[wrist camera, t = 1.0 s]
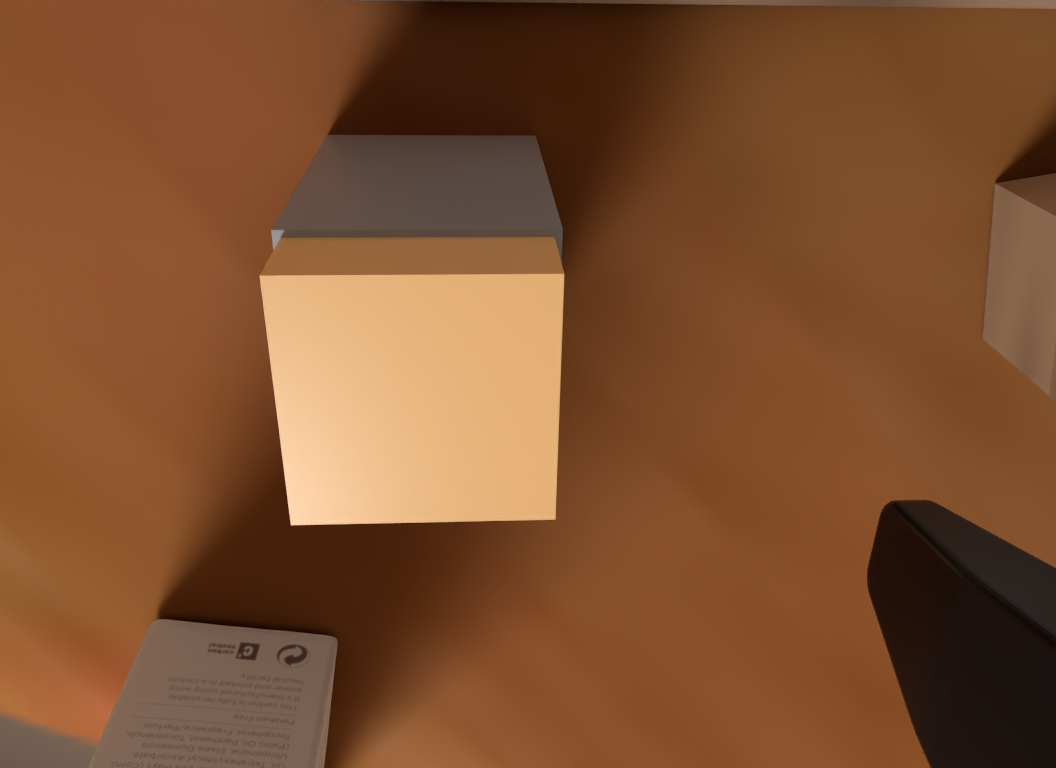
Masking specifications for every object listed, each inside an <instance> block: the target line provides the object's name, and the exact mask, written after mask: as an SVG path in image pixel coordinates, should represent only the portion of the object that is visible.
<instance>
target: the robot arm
mask: <svg viewBox="0 0 1056 768" xmlns="http://www.w3.org/2000/svg"><path fill="white" fill-rule="evenodd" d="M867 585H868V590H869V594H870V598H871V601H872V604H873V607H874V610H875V613H876V616H877V619H878V622H879V625H880V628H881V631H882V634H883V637H884V640H885V643H886V646H887V649H888V652H889V656H890V659H891V662H892V665H893V668H894V671H895V674H896V677H897V680H898V683H899V686H900V689H901V692H902V695H903V698H904V701H905V704H906V707H907V710H908V713H909V716H910V719H911V721H912V724H913V727H914V730H915V732H916V735H917V737H918V740H919V742H920V744H921V747H922V749H923V751H924V754H925V756H926V758H927V761H928V763H929V765H930V767H931V768H1056V568H1054V567H1052V566H1051V565H1049V564H1047V563H1045V562H1043V561H1041V560H1040V559H1038V558H1036V557H1034V556H1032V555H1030V554H1029V553H1027V552H1025V551H1023V550H1021V549H1019V548H1018V547H1016V546H1014V545H1012V544H1010V543H1008V542H1006V541H1005V540H1003V539H1001V538H999V537H997V536H995V535H994V534H992V533H990V532H988V531H986V530H984V529H983V528H981V527H979V526H977V525H975V524H973V523H972V522H970V521H968V520H966V519H964V518H962V517H961V516H959V515H957V514H955V513H953V512H951V511H950V510H948V509H946V508H944V507H942V506H940V505H938V504H937V503H935V502H932V501H929V500H901V501H891V502H889V503H888V504H886V505H885V506H884V508H883V509H882V512H881V514H880V518H879V522H878V526H877V530H876V535H875V539H874V543H873V547H872V552H871V556H870V560H869V564H868V570H867Z"/></svg>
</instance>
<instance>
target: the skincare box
mask: <svg viewBox="0 0 1056 768" xmlns="http://www.w3.org/2000/svg"><path fill="white" fill-rule="evenodd" d="M337 646H338V642H337V639H336V638H335V637H332V636H328V635H320V634H311V633H302V632H292V631H281V630H266V629H258V628H249V627H235V626H225V625H216V624H207V623H197V622H188V621H179V620H168V619H158V620H155V621H153V622H152V623H151V625H150V626H149V628H148V631H147V633H146V635H145V637H144V640H143V642H142V644H141V646H140V649H139V651H138V654H137V656H136V659H135V661H134V663H133V665H132V667H131V669H130V671H129V674H128V677H127V679H126V681H125V684H124V686H123V688H122V690H121V693H120V695H119V697H118V699H117V701H116V703H115V706H114V708H113V711H112V713H111V715H110V718H109V720H108V722H107V725H106V727H105V730H104V732H103V734H102V737H101V739H100V741H99V744H98V746H97V748H96V751H95V753H94V755H93V758H92V760H91V762H90V764H89V766H88V768H324V763H325V755H326V746H327V737H328V728H329V718H330V708H331V699H332V689H333V679H334V670H335V661H336V654H337Z"/></svg>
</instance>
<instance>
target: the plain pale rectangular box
mask: <svg viewBox="0 0 1056 768" xmlns="http://www.w3.org/2000/svg"><path fill="white" fill-rule="evenodd" d="M983 340H985V341H986V342H987V343H988V344H989V345H990V346H992V347H993V348H994V349H995V350H996V351H997V352H999V353H1000V354H1001V355H1002V356H1003V357H1004V358H1006V359H1007V360H1008V361H1009V362H1010V363H1011V364H1013V365H1014V366H1015V367H1016V368H1017V369H1018V370H1020V371H1021V372H1022V373H1023V374H1024V375H1025V376H1027V377H1028V378H1029V379H1030V380H1031V381H1032V382H1033V383H1035V384H1036V385H1037V386H1038V387H1039V388H1040V389H1042V390H1043V391H1044V392H1045V393H1046V394H1047V395H1049V396H1050V397H1051V398H1052V399H1053V400H1054V401H1056V173H1052V174H1047V175H1041V176H1035V177H1029V178H1023V179H1017V180H1012V181H1006V182H1000V183H995V190H994V203H993V215H992V228H991V240H990V253H989V265H988V278H987V290H986V303H985V315H984V328H983Z"/></svg>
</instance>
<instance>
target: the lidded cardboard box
mask: <svg viewBox="0 0 1056 768" xmlns="http://www.w3.org/2000/svg"><path fill="white" fill-rule="evenodd" d="M271 232H272V240H273V249H274V250H273V252H272V254H271V256H270V258H269V259H268V261H267V263H266V265H265V267H264V269H263V270H262V272H261V274H260V283H261V291H262V299H263V307H264V314H265V322H266V330H267V338H268V346H269V354H270V362H271V370H272V378H273V386H274V394H275V402H276V410H277V418H278V426H279V434H280V442H281V450H282V458H283V466H284V474H285V482H286V490H287V498H288V506H289V514H290V522H291V525H326V524H372V523H419V522H465V521H512V520H555V516H556V488H557V461H558V433H559V405H560V378H561V350H562V323H563V295H564V271H563V267H562V239H563V228H562V224H561V221H560V218H559V214H558V211H557V207H556V204H555V200H554V197H553V193H552V190H551V187H550V183H549V180H548V176H547V173H546V169H545V166H544V162H543V159H542V156H541V152H540V149H539V145H538V142H537V138H536V136H534V135H327V136H326V138H325V140H324V141H323V143H322V145H321V147H320V148H319V150H318V152H317V153H316V155H315V157H314V158H313V160H312V162H311V164H310V165H309V167H308V169H307V170H306V172H305V174H304V175H303V177H302V179H301V180H300V182H299V184H298V186H297V187H296V189H295V191H294V192H293V194H292V196H291V197H290V199H289V201H288V203H287V204H286V206H285V208H284V209H283V211H282V213H281V214H280V216H279V218H278V219H277V221H276V223H275V225H274V226H273V228H272V230H271Z"/></svg>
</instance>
